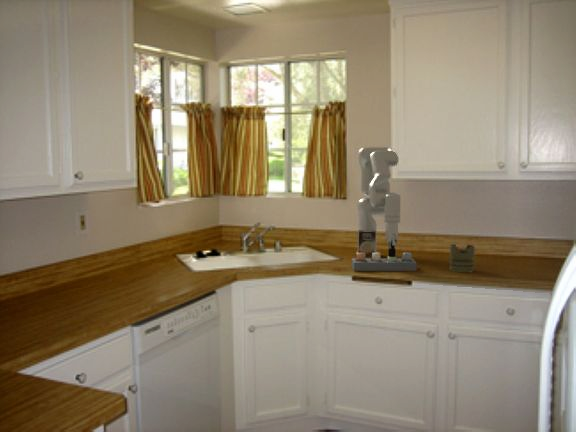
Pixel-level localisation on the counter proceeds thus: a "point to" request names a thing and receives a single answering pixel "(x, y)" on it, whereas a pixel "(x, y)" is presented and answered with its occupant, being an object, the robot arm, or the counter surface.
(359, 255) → the terracotta button
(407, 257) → the slate button
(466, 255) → the olive tactical vest
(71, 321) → the counter surface
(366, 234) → the coffee box
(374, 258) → the cream button
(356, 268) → the console
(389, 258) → the sage button
